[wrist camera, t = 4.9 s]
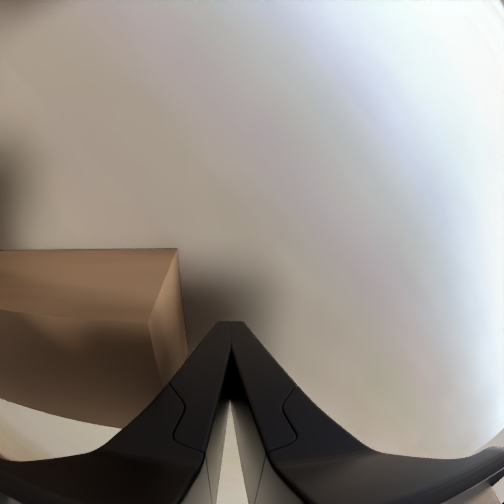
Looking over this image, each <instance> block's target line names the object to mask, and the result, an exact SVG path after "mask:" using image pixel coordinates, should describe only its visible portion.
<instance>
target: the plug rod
mask: <svg viewBox="0 0 504 504" xmlns="http://www.w3.org/2000/svg"><path fill="white" fill-rule="evenodd" d="M187 350H188V346H187V338H186V330H185V322H184V313H183V304H182V294H181V284H180V273H179V261H178V249H88V250H13V251H0V398H1V399H4V400H7V401H10V402H13V403H16V404H19V405H22V406H25V407H28V408H31V409H35V410H38V411H41V412H45V413H49V414H52V415H56V416H60V417H64V418H69V419H73V420H77V421H82V422H87V423H92V424H97V425H103V426H109V427H115V428H122V429H123V428H124V427H125V426H126V425H127V424H129V423H130V422H131V421H132V420H133V419H134V418H135V417H136V416H138V415H139V414H140V413H141V412H142V411H143V410H144V409H145V408H146V407H147V406H148V405H149V404H150V403H151V402H152V401H153V400H154V399H155V397H156V396H157V395H158V394H159V393H160V392H161V390H162V389H163V388H164V387H165V386H166V384H168V382H169V381H170V380H171V378H172V377H173V376H174V375H175V373H176V372H177V371H178V370H179V369H180V367H181V366H182V365H183V364H184V362H185V361H186V356H187Z"/></svg>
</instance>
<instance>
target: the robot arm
mask: <svg viewBox="0 0 504 504" xmlns="http://www.w3.org/2000/svg"><path fill="white" fill-rule="evenodd" d="M230 402H231V409H232V415H233V421H234V427H235V433H236V439H237V444H238V450H239V456H240V461H241V467H242V472H243V477H244V483H245V488H246V493H247V498H248V503H249V504H500V502H499V500H498V498H497V496H496V494H495V492H494V490H493V488H492V486H493V485H494V484H495V483H497V482H498V481H499V480H500V479H501V478H502V477H503V476H504V447H497V446H492V447H489V448H486V449H484V450H483V451H481V452H479V453H477V454H475V455H472V456H470V457H466V458H460V459H432V458H420V457H410V456H401V455H394V454H386V453H381V452H378V451H375V450H373V449H371V448H369V447H367V446H366V445H364V444H363V443H361V442H360V441H359V440H357V439H356V438H355V437H354V436H352V435H351V434H350V433H349V432H347V431H346V430H345V429H344V428H342V427H341V426H340V425H339V424H337V423H336V422H335V421H334V420H333V419H331V418H330V417H329V416H328V415H327V414H326V413H324V412H323V411H322V410H321V409H320V408H319V407H318V406H317V405H316V404H315V403H314V402H313V401H312V400H311V399H310V398H309V397H308V396H307V395H306V394H305V393H304V392H303V391H302V390H301V389H300V387H299V386H297V384H296V383H295V382H294V381H293V380H292V378H291V377H290V376H289V375H288V374H287V373H286V372H285V370H284V369H283V368H282V367H281V366H280V365H279V364H278V362H277V361H276V360H275V359H274V358H273V357H272V355H271V354H270V353H269V352H268V351H267V349H266V348H265V347H264V346H263V345H262V344H261V342H260V341H259V340H258V339H257V338H256V336H255V335H254V334H253V333H252V332H251V330H250V329H249V328H248V327H247V326H246V324H245V323H244V322H242V321H231V322H230V321H218V322H217V323H216V324H215V325H214V326H213V328H212V329H211V330H210V331H209V333H208V334H207V335H206V336H205V338H204V339H203V340H202V341H201V343H200V344H199V345H198V346H197V348H196V349H195V350H194V351H193V353H192V354H191V355H190V356H189V357H188V359H187V360H186V361H185V362H184V364H183V365H182V366H181V367H180V369H179V370H178V371H177V372H176V373H175V375H174V376H173V377H172V378H171V380H170V381H169V382H168V384H166V386H165V387H164V388H163V389H162V390H161V392H160V393H159V394H158V395H157V396H156V397H155V399H154V400H153V401H152V402H151V403H150V404H149V405H148V406H147V407H146V408H145V409H144V410H143V411H142V412H141V413H140V414H139V415H138V416H136V417H135V418H134V419H133V420H132V421H131V422H130V423H129V424H127V425H126V426H125V427H124V428H123V429H122V430H121V431H120V432H118V433H117V434H116V435H115V436H114V437H113V438H112V439H110V440H109V441H108V442H107V443H106V444H104V445H103V446H101V447H100V448H98V449H96V450H94V451H92V452H89V453H85V454H80V455H74V456H67V457H61V458H53V459H45V460H36V461H23V462H18V461H9V460H5V459H1V458H0V504H216V500H217V493H218V485H219V478H220V470H221V463H222V455H223V448H224V440H225V433H226V425H227V418H228V411H229V403H230ZM502 504H504V502H503V503H502Z"/></svg>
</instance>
